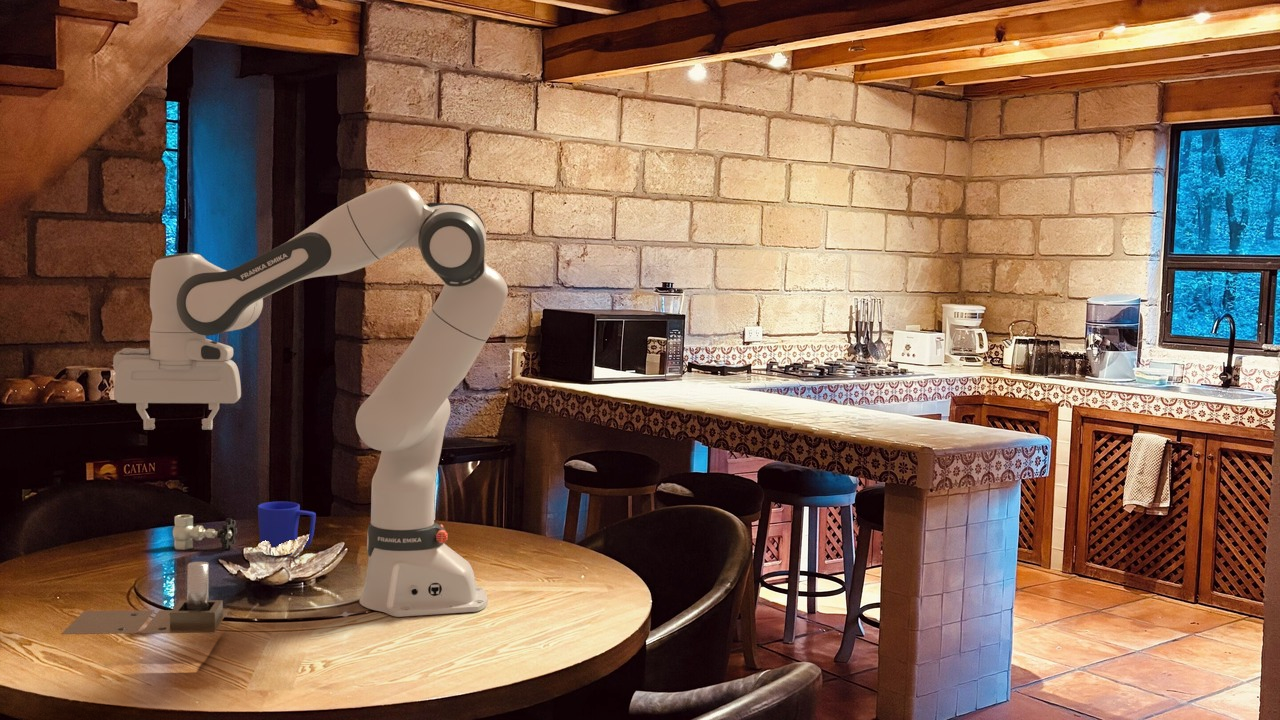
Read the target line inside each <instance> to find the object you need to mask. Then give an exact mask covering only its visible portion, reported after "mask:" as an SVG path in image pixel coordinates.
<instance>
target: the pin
mask: <svg viewBox="0 0 1280 720" xmlns="http://www.w3.org/2000/svg"><path fill="white" fill-rule="evenodd" d="M209 566H210V564H209V562H207V561H192V562H189V563H187V579H186V580H187V585H186V586H187V587H186V588H187V590H186V591H187V595H186V599H187V600H186V601H187V611H208V600H209V582H210V581H209V580H210V579H209V570H210V568H209Z"/></svg>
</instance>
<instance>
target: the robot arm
mask: <svg viewBox="0 0 1280 720" xmlns="http://www.w3.org/2000/svg"><path fill="white" fill-rule="evenodd" d="M486 245H487V233H486V228H485V224H484V221H483V219H482V218H481V216H480V215H479V214H478V212H477V211H475V210H474V209H473V208H471V207H470V206H467V205H465V204H460V203H453V202H452V203H449V202H448V203H447V202H444V203H443V202H442V203H441V202H428V203H426V202H425V201H424V200H423V198H422V195H420V194H419V192H418V191H417V190H415V188H413V187H411V186H410V185H409V184H406V183H403V182H395V183H391V184H387V185H385V186H381V187H378V188H374V189H373V190H371V191H367V192H366V193H363V194H361V195H359V196H357V197H354V198H353V199H351V200H349V201H347V202H345V203H343V204H341V205H339V206H338V207H336V208H334V209H333V210H331V211H330V212H327V213H326V214H325V215H324V216H322V217H321V218H319V219H318V220H316V221H315V222H314V223H313V224H310V225H309V226H308V227H307V228H305V229H304V230H302V231H301V232H299V233H298V234H296V235H295V236H294V237H292V238H290V239H289V240H288V241H286V242H284V243H282V244H280V245H279V246H277V247H274V248H273V249H271V250H269V251H267V252H265V253H262V254H261V255H258V256H257V257H254V258H252V259H250V260H248V261H246V262H243V264H241V265H238V266H236V267H234V268H231V269H229V270H226V269H224V268H221V267H219V266H217V265H215V264H213V263H211V262H209V261H208V260H207V259H205V257H204V256H202V255H201V254H199V253H196V252H184V253H174V254H169V255H168V254H167V255H164V256H162V257H159V258H158V259H157V260H156V261H155V262H154V264H153V266H152V270H151V273H150V274H151V275H150V285H149V286H150V287H149V308H150V311H151V315H152V316H151V317H152V318H151V319H152V320H151V324H150V328H149V347H144V348H143V347H140V348H131V347H125V348H122V349H121V350H119V351H117V352H116V353H115V354H114V355H113V360H112V363H113V365H112V366H113V367H112V368H113V370H114V372H115V376H114V383H113V384H114V385H113V398H114V399H115V401H116V402H117V403H119V404H120V403H121V404H136V408H135V409H136V411H137V413H138V414H139V416H140V417H141V419H142V420H143V424H142V425H143V430H148V431H149V430H151V431H152V430H153V431H154V429H156V425H155V422H156V418H153V417H152V418H151V417H150V416H149V414H148V412H147V411H146V409H148V408H149V404H208V410H210V411H211V412H210V413H209V415H208V416H207V418H202V419H201V424H202V425H201V429H202V430H204V431H205V430H206V431H208V430H209V431H211V430H213V426H214V425H213V424H214V423H213V422H214V421H213V420H214V418H215V416H216V415H217V414H218V411H219V410H220V404H235V403H237V402H238V401H239V400H240V398H241V397H242V386H241V378H240V371H239V368H238V366H237V363H236V362H234V360H232V358H233V356H234V348H233V346H230V345H227V344H226V343H225V344H224V343H221V342H218V341H215V340H211V339H209V338H207V336H208V337H209V336H216V335H219V334H222V333H224V332H233V331H237V330H243V329H245V328H247V327H250V326H251V325H253V324H254V323H255V322H257V320H258V319H259V318H260V316H261V315H262V312H263V309H264V298H266V297H269V296H271V295H272V294H274V293H276V292H278V291H281V290H282V289H284V288H286V287H288V286H290V285H293V284H294V283H297V282H300V281H304V280H307V279H312V278H318V277H327V276H336V275H337V276H338V275H344V274H348V273H352V272H355V271H358V270H361V269H364V268H366V267H368V266H370V265H372V264H375V263H377V262H378V261H380V260H382V259H384V258H386V257H387V256H390V255H391V254H394V253H395V252H397V251H400V250H403V249H407V248H415V249H418V250H420V255H421V257H422V259H423V260H424V262H425V263H426V265H428V267H429V268H430V269H431V270H432V271H433V272H434V273H435V274H436V275H437V276H438V277H439V278H440V279H441V280H442V282H444V284H443V287H442V289H441V292H440V294H439V296H438V297H437V299H436V301H435V302H434V304H433V305H432V307H431V308H430V311H428V314H427V316H426V317H425V319H424V321H423V322H422V324H421V326H420V327H419V328H418V331H417V333H416V334H415V336H414V337H413V338H412V341H411V342H410V344H409V346H408V347H407V348H406V350H405V351H404V352H403V353H402V355H401V356H400V357H398V359H397V361H396V362H395V363H394V364H393V366H392V367H391V368H390V370H388V372H387V373H386V374H385V376H384V377H383V379H382V380H381V381H380V382H379V384H378V385H377V386H376V387H375V389H374V391H373V392H372V393H371V394H370V395H369V396H368V397H367V399H366V400H364V402H363V403H362V404H360V407H359V408H358V410H357V413H356V417H355V428H356V431H357V434H358V435H359V438H360V439H361V441H362V442H363V443H364V444H365V445H366V446H368V447H369V448H371V449H373V450H377V451H380V452H381V453H380V456H379V460H378V463H377V468H376V470H375V471H374V474H373V477H372V479H371V498H370V500H371V501H370V503H371V504H370V505H371V506H370V522H369V524H368V528H367V531H366V532H367V536H366V538H367V539H366V551H367V555H368V560H367V561H368V562H367V568H366V575H365V578H364V585H363V587H362V588H363V589H362V592H361V595H360V598H359V604H360V605H361V606H363V607H365V608H367V609H369V610H373V611H377V612H383V613H386V614H387V615H388V616H392V617H396V618H397V617H398V618H399V617H414V616H429V615H444V614H446V615H447V614H457V613H475V612H480V611H482V610H483V609H485V607H486V606H487V605H488V594H487V591H486V590H485V589H484V588H482V587H480V586H477V583H476V578H475V573H474V570H473V568H472V565H471V563H470V562H469V561H468V560H466V559H465V558H463V556H462V555H460V554H458V553H457V552H456V551H454V550H453V549H452V548H451V547H450V546H448V545H447V544H446V542H447V541H448V535H449V534H448V532H447V531H446V528H445V527H444V525H443V524H442V523H441V524H438V523H437V522H435V501H436V499H435V498H436V480H437V472H438V468H439V463H440V458H441V454H442V449H443V448H442V447H443V442H444V436H445V429H446V427H447V424H448V422H449V420H450V417H451V403H450V400H449V396H451V394H452V392H453V391H454V390H455V389H456V387H458V386H459V384H460V383H461V382H462V381H463V380H464V379H465V378H466V376H467V375H468V373H469V371H470V370H471V368H472V366H473V365H474V362H475V361H476V360H477V358H478V357H479V354H480V353H481V352H482V349H483V347H484V346H485V345H486V342H487V341H488V339H490V335H491V334H492V333H493V332H494V331H493V330H494V328H495V327H496V325H497V323H498V321H499V318H500V317H501V313H502V311H503V309H504V306H505V303H506V301H507V298H508V293H509V292H508V291H509V289H508V288H509V287H508V285H507V282H506V280H505V278H503V276H502V275H501V274H500V273H499V272H498V271H496V270H495V269H494V268H492V267H490V266H489V265H488V264H487V263H486V261H485V254H486Z"/></svg>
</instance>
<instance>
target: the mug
mask: <svg viewBox="0 0 1280 720" xmlns="http://www.w3.org/2000/svg"><path fill="white" fill-rule="evenodd" d="M300 508H301V506H300V504H299V503H297V502H292V501H269V502H263V503H260V504H259V505H257V517H258V532H259V533H258V534H259V544H260V543H261V542H262V541H265V540H266V541H269V542H270V544H271V546H272V547H276V546H278V545H279V544H281V543H284V542H286V541H289V540H295V539H297V540H298V529H299V521H300V517H301V515H302V516H304V515H306V516H310V524H309V525H310V526H309V534H308V537H309V540H308V539H307V540H308V541H306V542H307V543H306V542H305V544H306V545H305V547H304V548H303V549H306V548H308V547H309V546H310V545H311V544H312V541H313V539H314V538H313V537H314V533H315V529H316V527H315V525H316V518H317V514H316V512H314V511H309V510H302V509H301V510H300Z"/></svg>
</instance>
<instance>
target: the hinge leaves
mask: <svg viewBox="0 0 1280 720" xmlns="http://www.w3.org/2000/svg"><path fill="white" fill-rule="evenodd" d="M223 603H224V602H223V600H222V599H219V600H218V599H216V600H213V599H211V600H210V599H208V611H187V600H178V602H177V603H176V605H175V606H174V607H173V608H172V609H170V610H169V609H168V610H167V609H166V610H164V609H163V610H161V609H160V610H158V612H157V613H156V614H155V615H154V617H153V618H152V620H150V621H149V623H148V624H147V625H146V627H144V629H143V630H142V631H141V634H187V633H188V634H205V633H208V634H209V633H211V634H212V633H216V632H217V629H218V628H219V627H220V625H221V623H222V622H223V620H224V618H225V617H226V615H227V614H228V612H229V609H224V608H223V607H224V606H223ZM154 612H155V610H153V609H152V610H145V609H144V610H143V609H142V610H84V611H82V613H80V614H79V615H78V616H77V618H75V620H73V622H71V623H70V625H68V626H67V627H66V628H65V629H64V630H63V631H62V632H61V633H60V635H95V634H96V635H104V634H105V635H107V634H108V635H110V634H111V635H112V634H114V635H115V634H120V635H121V634H124V635H125V634H137V633H138V632H139V630H140V629H141V628H142V626H144V624H145V623H146V622H147V621H148V619H149V618H150V617H151V616H152V615H153V614H154Z"/></svg>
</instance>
